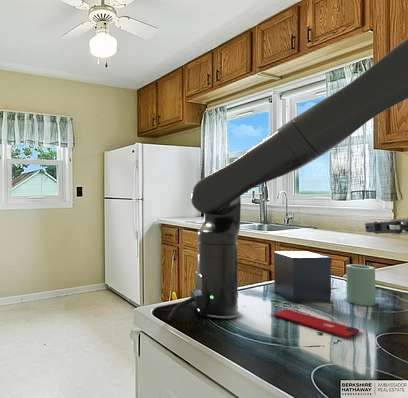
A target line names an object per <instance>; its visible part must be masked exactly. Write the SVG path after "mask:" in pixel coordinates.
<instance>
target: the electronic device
mask: <svg viewBox="0 0 408 398" xmlns="http://www.w3.org/2000/svg"><path fill="white" fill-rule="evenodd" d="M273 315H274V317H277V318H280V319H283V320H286V321H290V322H293V323H297V324H299V325H303V326H307V327H309V328H313V329H316V330H319V331H322V332H326V333H329V334H331V335H332V334H333V335H335V336H338V337H342V338H344V339H345V338H346V339H348V338H350V337H352V336H353V335H355V334H358V333H359V332H360V330H359V328H357V327H353V326H349V325H345V324H341V323H338V322H334V321H331V320H328V319H324V318H321V317H317V316H313V315H309V314H306V313H302V312H300V311H299V312H298V311H295V310H292V309H288V308H285V309H283V310H279V311H277V312H274V314H273Z"/></svg>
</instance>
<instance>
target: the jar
mask: <svg viewBox="0 0 408 398" xmlns="http://www.w3.org/2000/svg"><path fill="white" fill-rule="evenodd" d="M345 269H346V270H345V272H346V273H345V274H346V279H345V281H346V284H345V285H346V301H347V302H348V303H351V304H354V305H359V306H367V307H369V306H370V307H371V306H372V307H373V306H375V305H376V267H375V266H371V265H365V264H354V263H352V264H347V265H345Z"/></svg>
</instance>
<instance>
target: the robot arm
mask: <svg viewBox="0 0 408 398" xmlns="http://www.w3.org/2000/svg"><path fill="white" fill-rule="evenodd" d="M406 100H408V37H407V38H406V39H404V40H402V41H401V42H399V44H397V45H396V46H395V47H394V48H393V49H391V50H390V51H389V52H387V53H386V54H385V55H384V56H383V57H381V58H380V59H379V60H377V62H376V63H374V64H373V65H372V66H370V67H369V68H368V69H367V70H365V71H364V72H362V73H361V74H360V75H359V76H358V77H356V78H355V79H354V80H352V81H351V82H349V83H348V84H347V85H345V86H344V87H342V88H340V89H339V90H337V91H336V92H334V93H332V94H331V95H328V96H327V97H325V98H324V99H322V100H321V101H319V102H317V103H316V104H314V105H312V106H311V107H309V108H308V109H306V110H304V111H303V112H301V113H300V114H297V116H294V118H292V119H290V120H289V121H288V122H286V123H284V124H283V125H282V126H280V127H279V128H278V129H276V130H275V131H273V132H272V133H271V134H269V135H268V136H267V137H265V138H264V139H262V140H261V141H259V142H258V143H257V144H255V145H254V146H253V147H251V148H250V149H249V150H247V151H245V152H244V153H243V154H242V155H240V156H239V157H238V158H236V159H235V160H233V161H231V162H230V163H229V164H226V165H225V166H223V167H221V168H219V169H217V170H215V171H214V172H212V173H210V174H208V175H206V176H204V177H203V178H201V179H200V180H199V181H197V182H196V183H195V185H194V186H193V189H192V191H191V195H190V202H191V204H192V206H193V209H195V210H196V211H198V212H199V213H201V214H203V223H202V225H201V226H200V228H199V229H198V230H197V236H196V237H197V238H196V239H197V270H196V271H195V273H194V275H195V276H194V277H195V279H194V280H195V281H194V282H195V288H193V289H190V297H189V298H188V299H187V298H186V299H185V300H183V301H181V302H179V303H178V304H176V305H175V306H174V308H173V309H172V310H171V312H170V314H169V315H168V316H167V321H168V322H169V321H172V320H173V319H174V318H175V316H176V314H177V313H178V311H179V310H181V308H183V307H184V306H186V305H188V304H192V305H193V306H194V308H195V310H196V311H197V313H198V314H199V315H200V316H201V317H202V318H210V319H214V320H231V319H235V318H237V317H238V316H239V304H238V303H239V302H238V300H239V292H238V285H239V284H238V237H239V233H240V230H241V213H242V212H241V209H242V208H241V207H242V201H241V198H242V197H241V196H243V195H245V193H247V192H249V191H250V190H252V189H254V188H256V187H258V186H260V185H262V184H265V183H267V182H270V181H273V180H276V179H278V178H280V177H283V176H285V175H288V174H290V173H292V172H295V171H297V170H299V169H301V168H303V167H304V166H306V165H308V164H310V163H311V162H313V161H315V160H317V159H319V158H321V156H323V155H325V154H326V153H328V152H330V151H332V150H333V149H334V148H335V147H337V146H338V145H340V144H341V143H342V142H344V141H345V140H346V139H348V138H349V137H350V136H352V135H353V134H354V133H355V132H356V131H358V130H359V129H360V128H362V127H363V126H364V125H365V124H367V123H368V122H369V121H370V120H372V119H374V118H375V117H377V116H378V115H380V114H381V113H384V112H385V111H387V110H389V109H390V108H391V109H392V108H393V107H394V106H397V105H399V104H400V103H402V102H404V101H406ZM364 226H365V232H366V233H373V234H376V235H379V234H392V235H394V236H402V235H403V236H404V235H408V217H407V218H393V219H390V221H373V222H366V223H364Z"/></svg>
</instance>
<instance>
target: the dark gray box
mask: <svg viewBox="0 0 408 398" xmlns="http://www.w3.org/2000/svg"><path fill="white" fill-rule="evenodd" d="M332 260H333V259H332V257H330V256H326V255H322V254H318V253H314V252H312V251H274V252H273V265H274V266H273V267H274V268H273V270H274V271H273V275H274V276H273V277H274V278H273V279H274V280H273V281H274V282H273V283H274V284H273V285H274V288H273V289H274V292H275V293H276V294H278V295H279V296H281V297H283V298H285V299H287V300H288V301H290V302H292V303H331V302H332V263H333V261H332Z"/></svg>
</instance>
